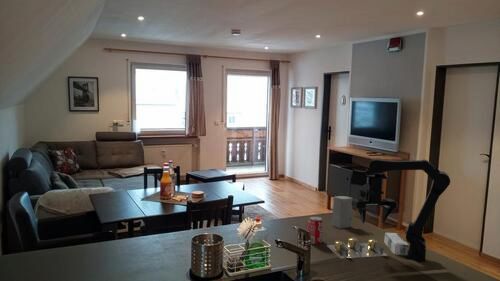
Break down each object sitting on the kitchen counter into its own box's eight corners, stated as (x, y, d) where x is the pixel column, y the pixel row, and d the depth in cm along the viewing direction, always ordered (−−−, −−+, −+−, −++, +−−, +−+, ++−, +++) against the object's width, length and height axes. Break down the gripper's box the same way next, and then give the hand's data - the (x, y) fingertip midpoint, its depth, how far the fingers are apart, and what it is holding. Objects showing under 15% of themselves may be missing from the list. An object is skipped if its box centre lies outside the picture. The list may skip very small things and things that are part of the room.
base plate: (388, 257, 156) (388, 254, 156) (340, 260, 151) (340, 257, 151) (370, 245, 169) (370, 242, 169) (326, 247, 165) (326, 244, 165)
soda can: (321, 240, 172) (322, 216, 171) (322, 246, 165) (324, 220, 164) (306, 239, 173) (307, 215, 172) (306, 245, 166) (308, 219, 165)
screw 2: (365, 246, 164) (366, 238, 163) (374, 246, 165) (374, 238, 164) (377, 255, 155) (377, 246, 155) (385, 254, 156) (386, 246, 155)
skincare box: (340, 229, 190) (342, 199, 188) (330, 225, 196) (332, 196, 194) (352, 227, 194) (354, 197, 192) (342, 223, 200) (344, 194, 198)
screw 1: (332, 248, 160) (333, 240, 160) (341, 248, 161) (341, 239, 161) (342, 257, 151) (342, 248, 151) (351, 256, 152) (351, 248, 152)
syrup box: (395, 244, 171) (408, 257, 157) (383, 244, 171) (394, 256, 157) (396, 232, 171) (409, 244, 156) (384, 232, 171) (395, 244, 156)
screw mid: (346, 245, 165) (346, 237, 165) (354, 244, 166) (355, 236, 166) (356, 253, 156) (357, 244, 156) (364, 252, 157) (365, 244, 157)
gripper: (385, 183, 168) (383, 216, 170) (347, 183, 165) (345, 217, 166) (399, 189, 157) (396, 224, 159) (358, 189, 154) (356, 225, 156)
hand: (373, 222), depth 160 cm, fingers open, 9 cm apart
